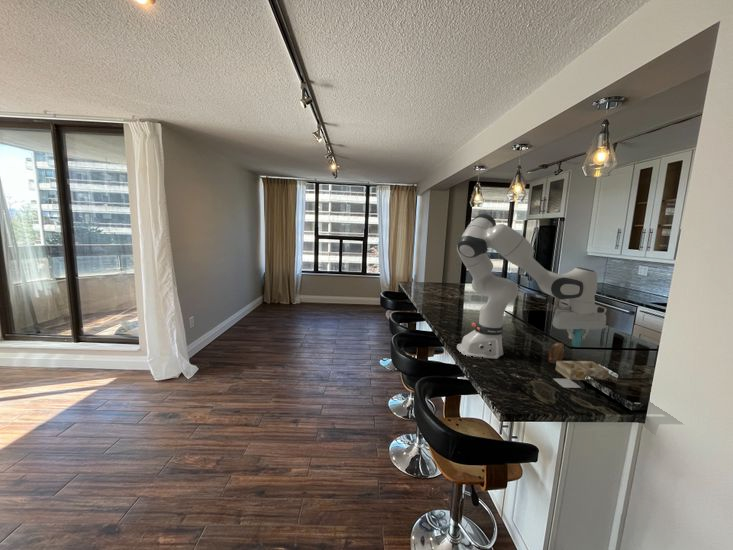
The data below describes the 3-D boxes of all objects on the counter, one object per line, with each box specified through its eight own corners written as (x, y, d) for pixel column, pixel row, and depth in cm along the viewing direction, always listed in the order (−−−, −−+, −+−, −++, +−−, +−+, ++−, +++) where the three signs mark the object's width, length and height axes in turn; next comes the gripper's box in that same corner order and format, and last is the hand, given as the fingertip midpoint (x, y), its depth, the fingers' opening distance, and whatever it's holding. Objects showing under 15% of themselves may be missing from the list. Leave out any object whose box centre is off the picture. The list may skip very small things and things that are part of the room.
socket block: (569, 381, 124) (571, 370, 123) (555, 371, 133) (556, 360, 132) (607, 382, 124) (609, 370, 123) (590, 371, 133) (592, 360, 132)
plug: (574, 346, 124) (577, 328, 123) (569, 343, 128) (571, 325, 126) (582, 347, 124) (585, 328, 123) (576, 343, 128) (579, 325, 126)
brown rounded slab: (553, 366, 137) (555, 349, 136) (545, 364, 140) (548, 347, 138) (564, 358, 147) (566, 341, 146) (557, 356, 149) (559, 340, 148)
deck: (563, 389, 118) (563, 387, 118) (552, 380, 125) (552, 378, 125) (581, 389, 118) (581, 387, 118) (568, 380, 125) (569, 378, 125)
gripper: (560, 308, 120) (557, 341, 122) (610, 309, 120) (606, 341, 123) (551, 304, 126) (547, 335, 129) (598, 305, 127) (594, 336, 129)
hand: (576, 338), depth 126 cm, fingers closed on plug, 3 cm apart
